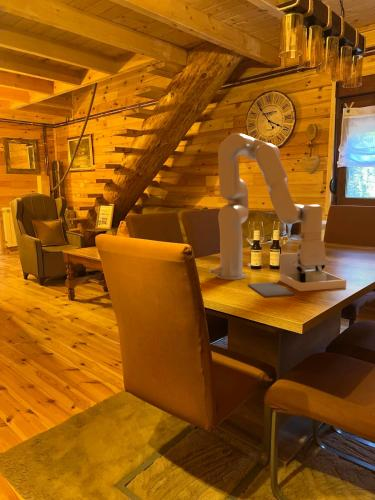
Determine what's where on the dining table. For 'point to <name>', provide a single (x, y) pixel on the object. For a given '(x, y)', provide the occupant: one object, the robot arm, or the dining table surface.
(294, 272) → the carton
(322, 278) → the box
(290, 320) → the dining table surface
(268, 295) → the slate mat
